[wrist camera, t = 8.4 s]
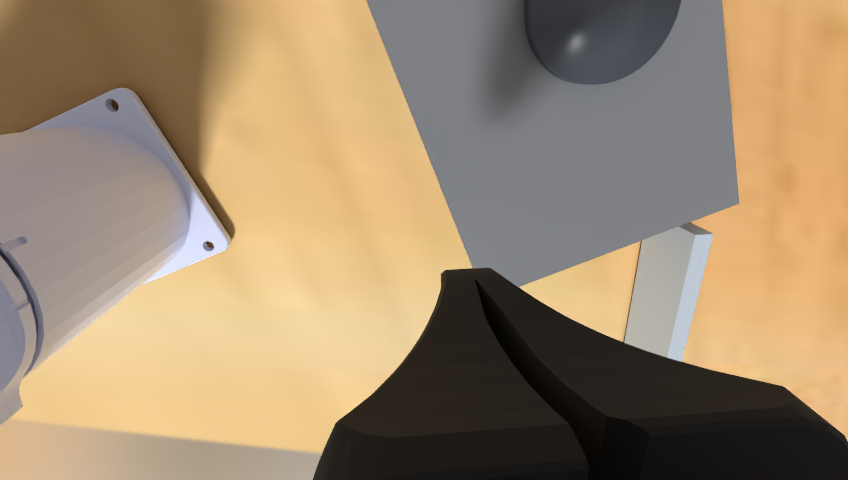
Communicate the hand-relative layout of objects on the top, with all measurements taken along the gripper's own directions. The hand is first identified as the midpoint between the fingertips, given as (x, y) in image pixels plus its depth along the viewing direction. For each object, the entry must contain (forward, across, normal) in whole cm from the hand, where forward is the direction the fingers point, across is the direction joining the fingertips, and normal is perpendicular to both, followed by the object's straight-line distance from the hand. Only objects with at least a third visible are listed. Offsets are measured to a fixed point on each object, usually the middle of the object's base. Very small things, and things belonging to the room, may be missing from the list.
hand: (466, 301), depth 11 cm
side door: (+9, -12, +7) cm, 17 cm away
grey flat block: (+9, -5, -5) cm, 12 cm away
